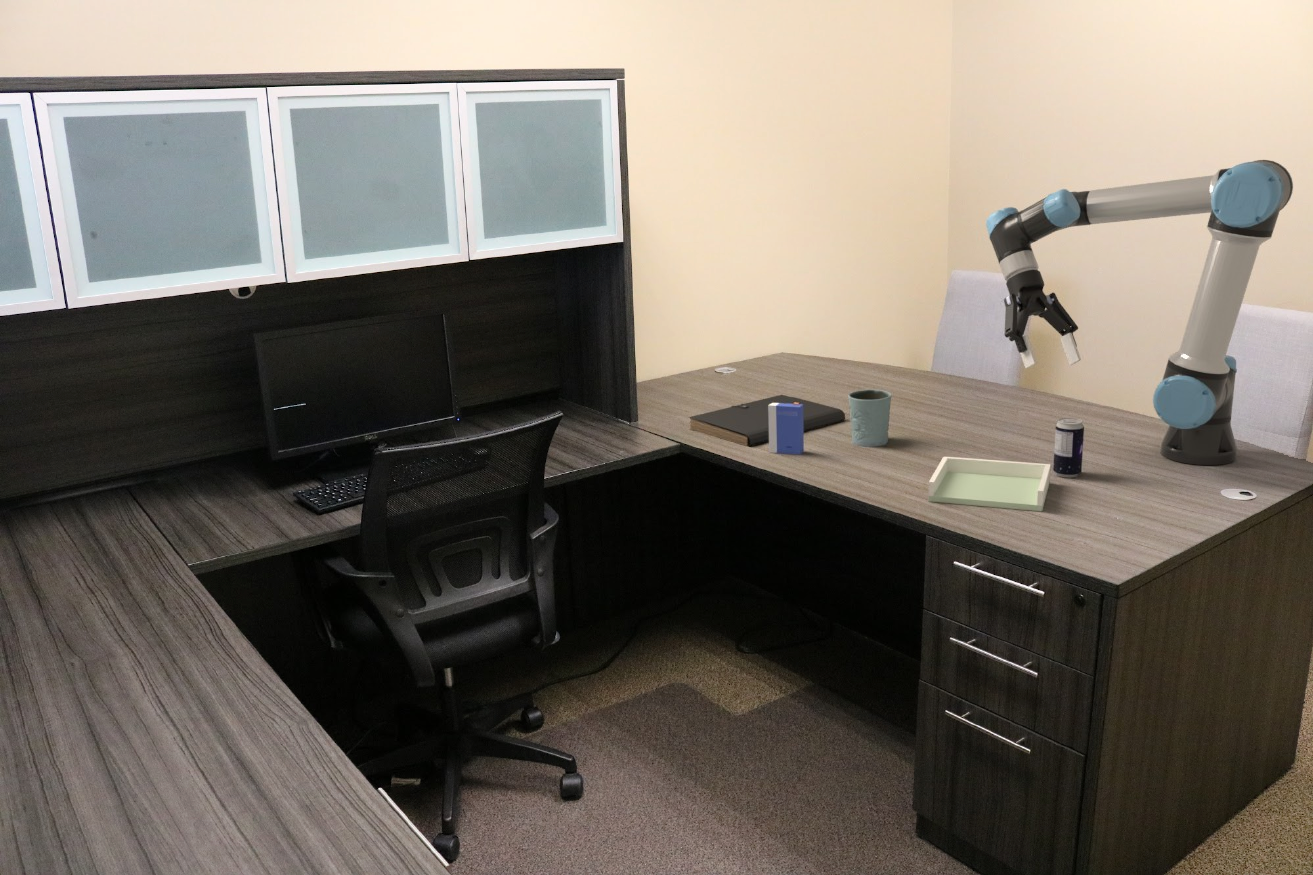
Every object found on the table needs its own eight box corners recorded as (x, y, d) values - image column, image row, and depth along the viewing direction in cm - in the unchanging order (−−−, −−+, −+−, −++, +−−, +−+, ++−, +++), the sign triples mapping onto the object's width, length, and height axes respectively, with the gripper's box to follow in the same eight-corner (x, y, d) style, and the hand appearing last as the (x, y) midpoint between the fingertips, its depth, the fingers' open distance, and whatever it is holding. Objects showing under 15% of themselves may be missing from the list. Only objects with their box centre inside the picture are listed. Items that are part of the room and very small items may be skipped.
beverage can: (1083, 478, 231) (1086, 424, 228) (1055, 478, 232) (1058, 424, 229) (1078, 470, 236) (1082, 417, 233) (1051, 470, 237) (1054, 417, 234)
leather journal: (781, 393, 302) (845, 409, 283) (781, 407, 303) (845, 424, 284) (688, 415, 283) (750, 434, 264) (688, 430, 284) (750, 450, 266)
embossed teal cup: (892, 437, 268) (892, 389, 265) (889, 448, 259) (889, 399, 255) (850, 435, 271) (850, 388, 267) (846, 447, 261) (846, 398, 258)
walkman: (803, 451, 260) (803, 402, 256) (800, 454, 257) (799, 405, 254) (772, 449, 263) (771, 401, 260) (768, 452, 260) (767, 403, 257)
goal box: (1049, 483, 229) (1050, 464, 228) (1042, 511, 213) (1043, 491, 212) (943, 474, 238) (943, 456, 237) (928, 501, 222) (928, 481, 221)
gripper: (1049, 282, 249) (1080, 367, 244) (969, 284, 238) (999, 374, 232) (1073, 267, 243) (1106, 354, 238) (992, 268, 231) (1024, 360, 226)
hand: (1053, 364), depth 235 cm, fingers open, 13 cm apart
